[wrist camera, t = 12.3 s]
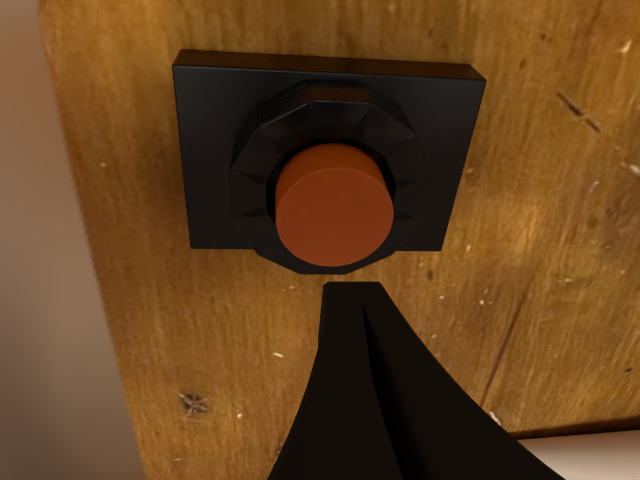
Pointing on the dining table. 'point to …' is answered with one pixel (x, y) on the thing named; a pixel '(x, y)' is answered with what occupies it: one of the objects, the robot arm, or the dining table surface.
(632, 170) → the dining table surface
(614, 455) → the long cone
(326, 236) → the button
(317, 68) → the panel
